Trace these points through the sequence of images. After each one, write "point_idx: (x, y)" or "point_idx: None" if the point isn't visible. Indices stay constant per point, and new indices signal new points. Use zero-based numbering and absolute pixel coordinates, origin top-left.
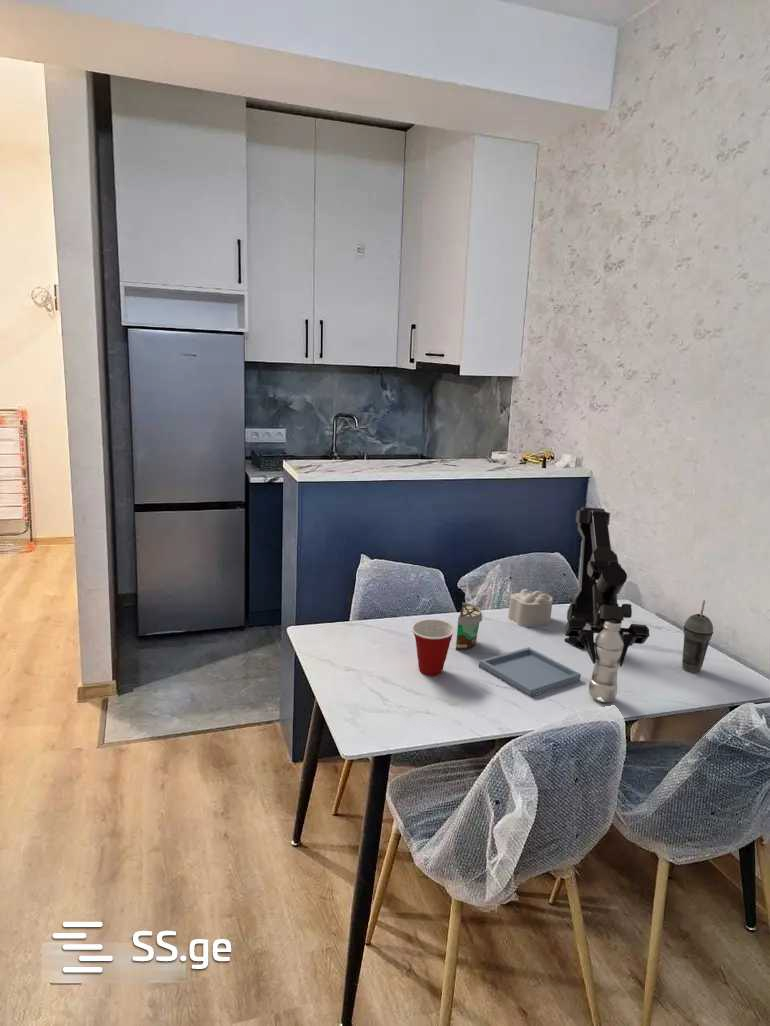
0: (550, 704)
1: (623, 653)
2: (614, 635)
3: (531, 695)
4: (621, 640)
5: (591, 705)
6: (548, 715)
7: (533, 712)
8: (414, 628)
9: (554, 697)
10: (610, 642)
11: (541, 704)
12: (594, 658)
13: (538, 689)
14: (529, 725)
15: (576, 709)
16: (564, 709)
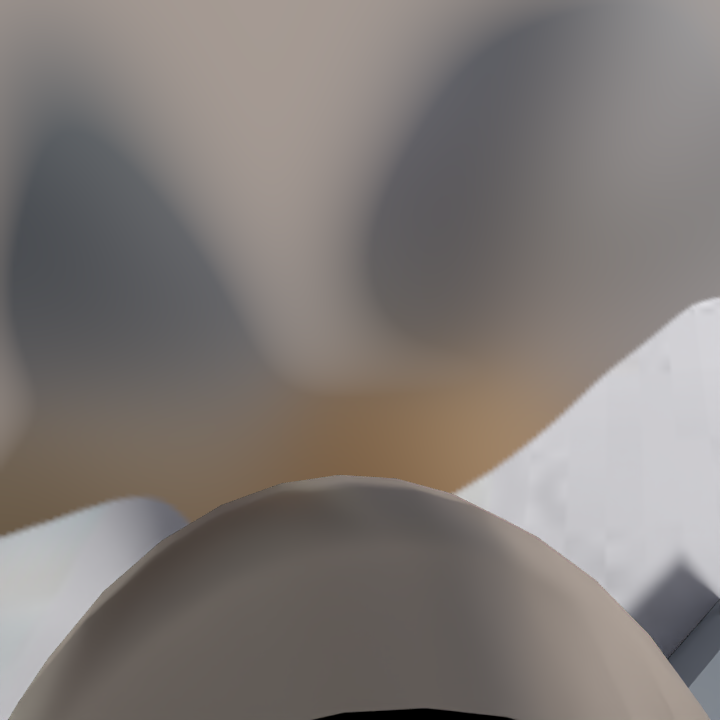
0: (612, 522)
1: None
2: (420, 645)
3: (718, 608)
4: (103, 641)
5: None
6: (620, 410)
7: (685, 432)
8: None
9: None
10: (480, 517)
11: (655, 517)
12: None
13: (708, 648)
14: (690, 329)
15: (484, 480)
16: (545, 474)
